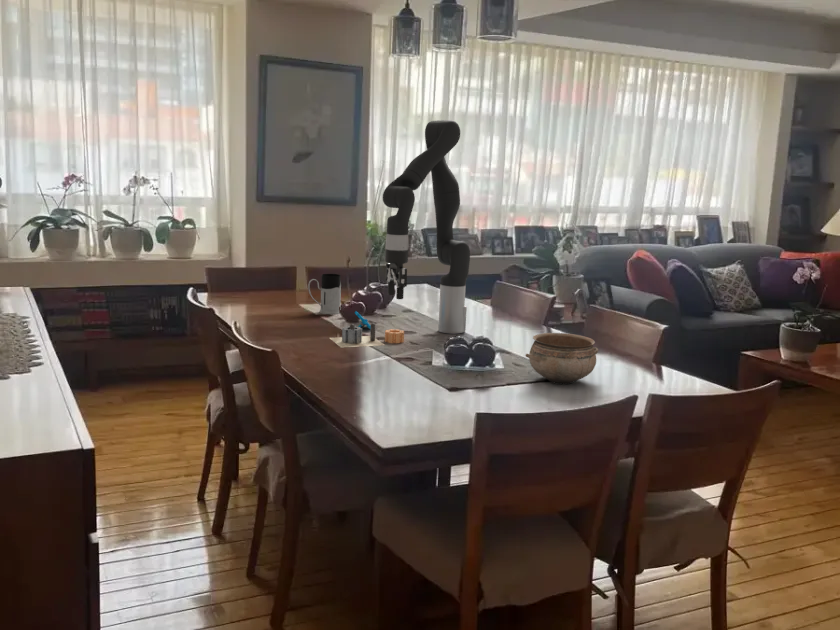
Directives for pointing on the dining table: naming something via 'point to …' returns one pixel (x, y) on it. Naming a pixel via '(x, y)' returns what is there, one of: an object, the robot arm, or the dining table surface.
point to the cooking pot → (562, 356)
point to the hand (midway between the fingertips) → (395, 296)
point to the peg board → (365, 339)
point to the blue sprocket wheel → (364, 321)
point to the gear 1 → (352, 335)
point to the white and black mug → (329, 293)
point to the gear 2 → (394, 336)
